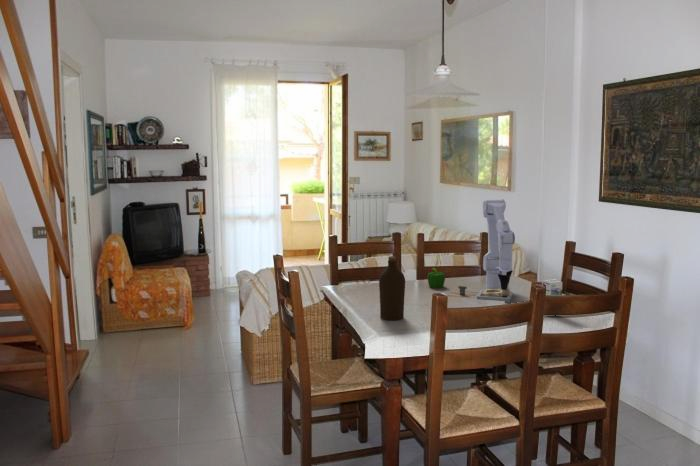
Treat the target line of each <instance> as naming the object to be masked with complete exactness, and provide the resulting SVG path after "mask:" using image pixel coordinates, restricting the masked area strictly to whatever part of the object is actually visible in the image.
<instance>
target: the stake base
mask: <svg viewBox="0 0 700 466" xmlns="http://www.w3.org/2000/svg"><path fill="white" fill-rule="evenodd" d="M457 288H458V289H459V290H453V289H452V290H451V291H450V293H449V294H448V295H447V297H457V298H458V297H459V298H467V299H468V298H469V299H471V298H472V299H474V298H475V297H477V295H478V293H479V292H478V291H466V290H467V285H458V287H457Z"/></svg>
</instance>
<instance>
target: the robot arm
mask: <svg viewBox="0 0 700 466" xmlns="http://www.w3.org/2000/svg"><path fill="white" fill-rule="evenodd" d="M505 211H506V201H505V199H487V198H486V199H484V200H483V201H482V214H483V217H484V218H485V219H486V221H487V239H488V240H487V241H488V242H487V243H488V252H487V253H486V254H485V255H483V258H482V260H483V261H482V268H483V271H485V273H486V274H485V276H486V277H485V289H502V290H506V289H507V286H509V285H510V280H511V276H512V274H513V251H514V248H513V245H515V241H516V235H515V233H514V231H513V230H511V228H510V227H511V226H510V223H509V222H508V221H507V220H506V219H505V214H504V213H505Z"/></svg>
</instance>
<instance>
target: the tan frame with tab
mask: <svg viewBox="0 0 700 466" xmlns="http://www.w3.org/2000/svg"><path fill="white" fill-rule="evenodd" d="M483 290H484V291H483V292H482V295H481V296H489V297H503V298H504V296H506V297H507V296H508V295H509V292H510V289H509V285H508V286H507V289H506V290H502V289H487V288H485V289H483Z"/></svg>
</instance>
